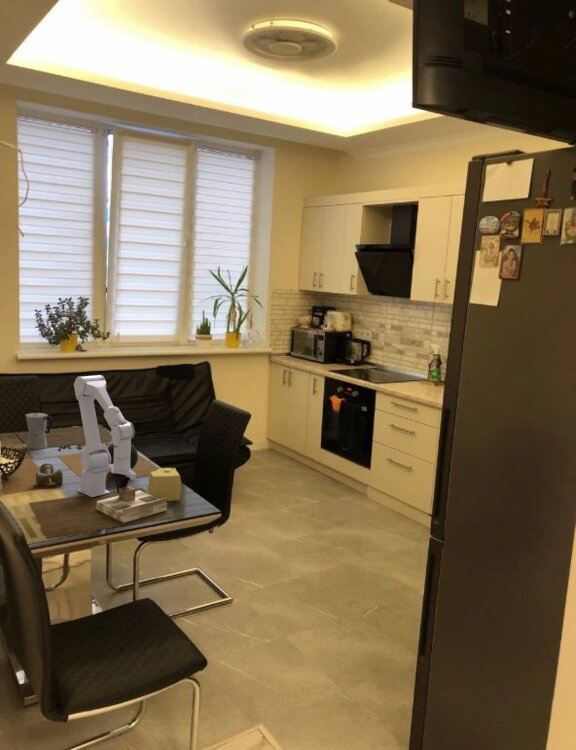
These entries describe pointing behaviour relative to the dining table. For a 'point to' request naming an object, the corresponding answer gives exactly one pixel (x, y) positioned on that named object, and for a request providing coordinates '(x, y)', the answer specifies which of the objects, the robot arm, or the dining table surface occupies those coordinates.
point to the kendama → (48, 475)
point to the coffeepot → (37, 430)
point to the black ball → (132, 459)
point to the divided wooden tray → (132, 506)
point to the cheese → (165, 484)
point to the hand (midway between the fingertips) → (121, 493)
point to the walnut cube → (127, 493)
